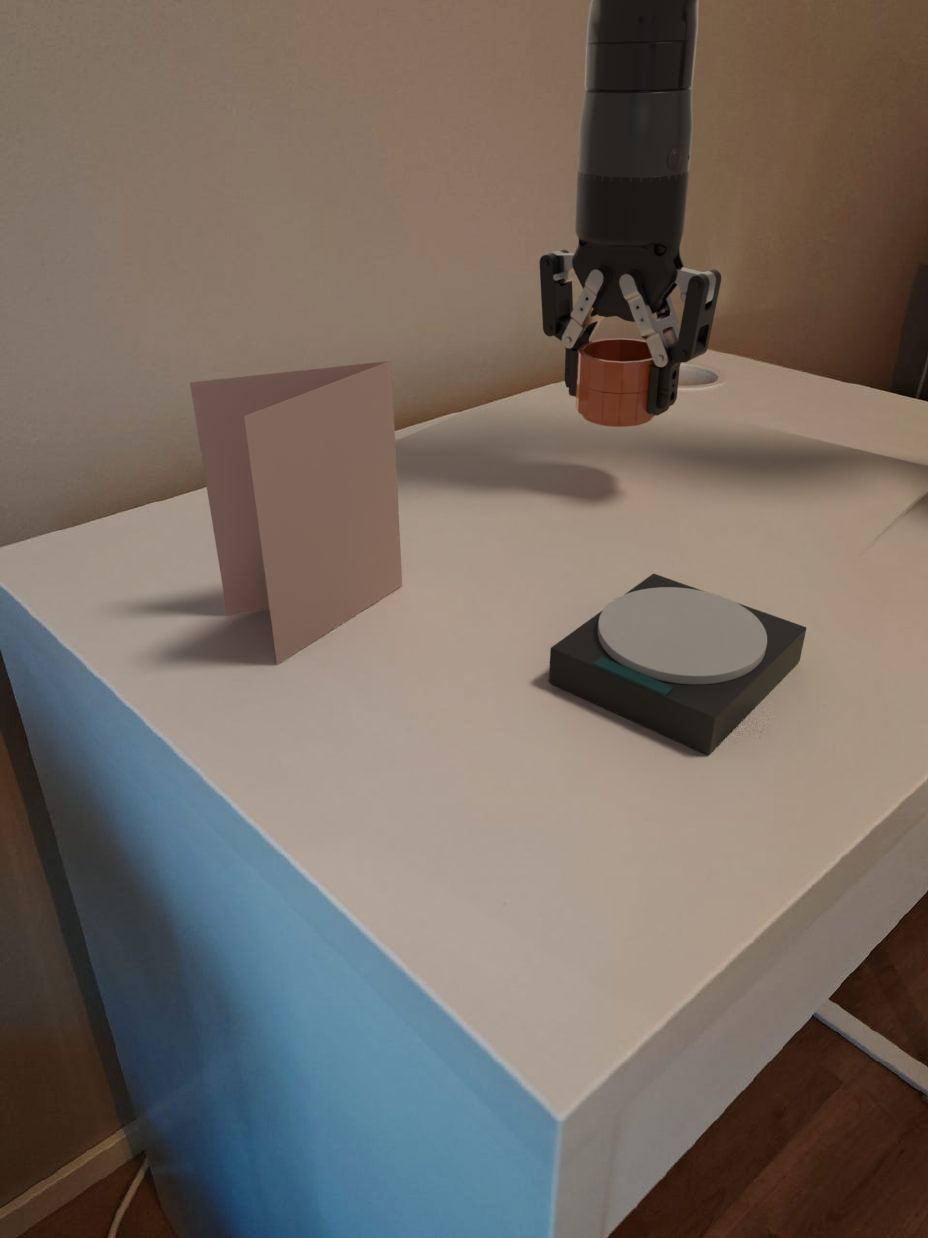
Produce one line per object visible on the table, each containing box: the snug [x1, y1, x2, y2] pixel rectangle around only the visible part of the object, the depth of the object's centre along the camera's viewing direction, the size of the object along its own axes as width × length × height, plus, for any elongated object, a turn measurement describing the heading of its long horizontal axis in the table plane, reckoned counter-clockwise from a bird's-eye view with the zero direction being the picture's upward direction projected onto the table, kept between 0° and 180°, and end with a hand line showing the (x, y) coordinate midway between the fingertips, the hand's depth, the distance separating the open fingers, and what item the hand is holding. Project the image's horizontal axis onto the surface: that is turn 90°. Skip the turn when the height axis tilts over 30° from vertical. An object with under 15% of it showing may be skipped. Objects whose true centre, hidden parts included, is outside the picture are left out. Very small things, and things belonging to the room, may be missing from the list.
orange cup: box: [575, 337, 656, 428], centre depth 73 cm, size 6×6×5 cm
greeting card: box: [189, 360, 403, 665], centre depth 56 cm, size 11×7×15 cm, turn 109°
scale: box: [548, 573, 807, 756], centre depth 54 cm, size 11×10×3 cm
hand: (617, 402), depth 74 cm, fingers closed on orange cup, 6 cm apart
